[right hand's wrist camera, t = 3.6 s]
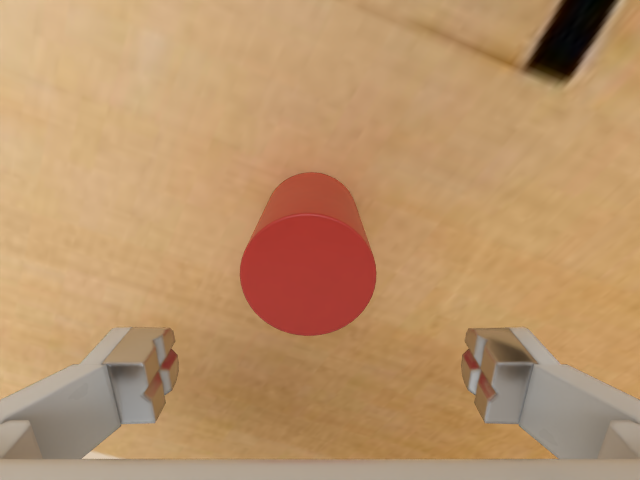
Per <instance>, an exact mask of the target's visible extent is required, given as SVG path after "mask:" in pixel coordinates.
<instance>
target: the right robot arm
mask: <svg viewBox="0 0 640 480" xmlns="http://www.w3.org/2000/svg"><path fill="white" fill-rule="evenodd" d="M174 343H175V337H174V332H173V330H172V329H171V328H149V327H116V328H112V329H111V330H110V331H109V332H108V334H107V335H106V336H105V337H104V338H103V339H102V340H101V341H100V342H99V343H98V344H97V346H96V347H95V348H94V349H93V350H92V351H91V352H90V353H89V354H88V355H87V356H86V357H85V359H84V360H83V361H82V362H81V363H80V364H73V365H71V366H69V367H67V368H65V369H63V370H61V371H59V372H56V373H54V374H52V375H50V376H48V377H46V378H44V379H42V380H40V381H38V382H36V383H34V384H32V385H30V386H28V387H26V388H24V389H21V390H19V391H17V392H15V393H13V394H11V395H9V396H7V397H5V398H3V399H1V400H0V480H640V400H639V399H637V398H635V397H633V396H631V395H629V394H627V393H625V392H622V391H620V390H618V389H616V388H614V387H612V386H610V385H608V384H606V383H604V382H602V381H600V380H598V379H596V378H594V377H592V376H590V375H588V374H586V373H583V372H581V371H579V370H577V369H575V368H573V367H571V366H569V365H567V364H560V363H559V362H558V361H557V360H556V359H555V357H554V356H553V355H552V354H551V353H550V352H549V351H548V350H547V349H546V348H545V347H544V346H543V344H542V343H541V342H540V341H539V340H538V339H537V338H536V337H535V336H534V335H533V334H532V332H531V331H530V330H529V329H527V328H525V327H505V328H469V329H468V331H467V333H466V337H465V343H466V344H467V346H468V348H469V349H468V350H467V351H466V352H465V353H464V354H463V355H462V363H461V368H462V377H463V380H464V383H465V385H466V387H467V389H468V391H470V392H471V393H473V394H474V395H476V396H475V402H474V403H475V405H476V407H477V409H478V411H479V413H480V415H481V417H482V419H483V420H484V422H485V423H499V424H519V426H520V427H521V428H522V429H523V430H525V431H526V432H527V433H528V434H530V435H531V436H532V437H533V438H534V439H536V440H537V441H538V442H539V443H540V444H542V445H543V446H544V447H545V448H546V449H548V450H549V451H550V452H551V453H552V454H554V455H555V456H556V457H557V458H559V459H82V458H83V457H84V456H85V455H86V454H88V453H89V452H90V451H91V450H92V449H94V448H95V447H96V446H97V445H99V444H100V443H101V442H102V441H103V440H105V439H106V438H107V437H108V436H109V435H111V434H112V433H113V432H114V431H115V430H117V429H118V428H119V427H120V426H121V424H141V423H155V422H156V421H157V419H158V417H159V415H160V413H161V411H162V409H163V407H164V405H165V403H166V402H165V396H164V395H166V394H167V393H169V392H170V391H172V389H173V387H174V385H175V383H176V380H177V376H178V369H179V362H178V355H177V354H176V353H175V352H174V351H173V350H172V349H171V348H172V346H173V344H174Z"/></svg>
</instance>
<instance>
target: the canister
mask: <svg viewBox="0 0 640 480" xmlns="http://www.w3.org/2000/svg"><path fill="white" fill-rule="evenodd" d="M240 281H241V286H242V290H243V293H244V295H245V298H246V300H247V301H248V303H249V305H250V306H251V308H252V309H253V310H254V312H255V313H256V314H257V315H258V316H259V317H260V318H261V319H263V320H264V321H265V322H266V323H268V324H270V325H271V326H273V327H275V328H277V329H279V330H281V331H284V332H287V333H291V334H296V335H304V336H314V335H322V334H326V333H330V332H333V331H336V330H338V329H340V328H342V327H344V326H346V325H348V324H349V323H351V322H352V321H353V320H354V319H356V318H357V317H358V316H359V315H360V314H361V313H362V311H363V310H364V309H365V307H366V306H367V305H368V303H369V301H370V299H371V297H372V295H373V292H374V289H375V283H376V265H375V261H374V257H373V254H372V251H371V248H370V245H369V242H368V239H367V237H366V234H365V231H364V228H363V225H362V222H361V219H360V216H359V213H358V211H357V208H356V205H355V202H354V200H353V197H352V196H351V194H350V192H349V191H348V190H347V188H346V187H345V186H344V185H343V184H342V183H340V182H339V181H338V180H336V179H334V178H332V177H330V176H328V175H325V174H321V173H301V174H298V175H295V176H292V177H290V178H288V179H287V180H285V181H284V182H282V183H281V184H280V185H279V186H278V187H277V188H276V189H275V191H274V192H273V193H272V195H271V197H270V199H269V201H268V203H267V205H266V207H265V210H264V212H263V214H262V216H261V218H260V220H259V222H258V224H257V226H256V228H255V230H254V232H253V235H252V237H251V239H250V241H249V243H248V245H247V247H246V249H245V251H244V254H243V257H242V261H241V266H240Z"/></svg>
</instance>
